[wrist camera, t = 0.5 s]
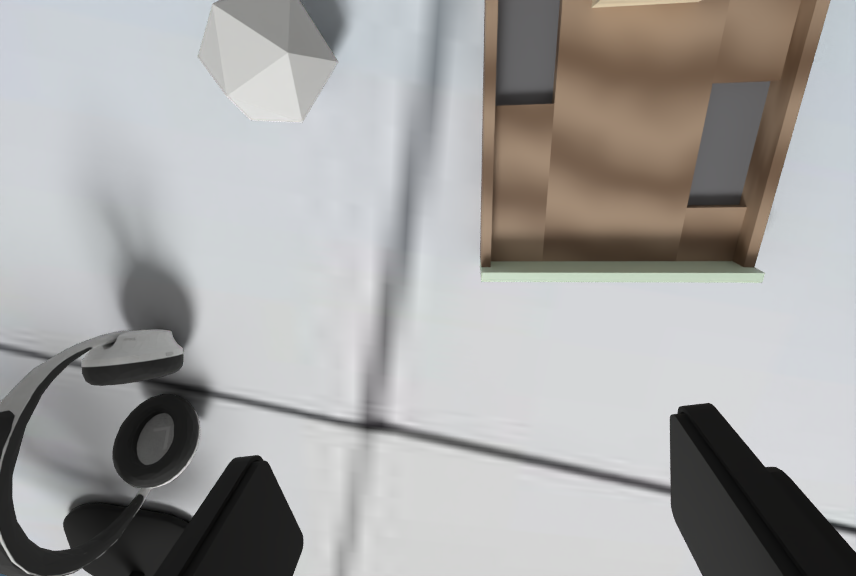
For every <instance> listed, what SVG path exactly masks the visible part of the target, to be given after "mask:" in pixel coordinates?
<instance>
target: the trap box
mask: <svg viewBox="0 0 856 576" xmlns="http://www.w3.org/2000/svg"><path fill="white" fill-rule="evenodd" d="M829 4H830V0H701V1H699V2H688V3H670V4H652V5H634V6H616V7H598V8H592V0H560V6H559V19H558V32H557V46H556V59H555V72H554V85H553V98H552V104H531V105H503V106H495V95H496V59H497V23H498V0H485V16H484V72H483V128H482V185H481V241H480V260H481V267H491V261H733V262H735V263H737V264H738V265H740V266H742V267H754V266H755V263H756V259H757V256H758V252H759V249H760V245H761V242H762V238H763V235H764V231H765V228H766V224H767V221H768V217H769V214H770V210H771V207H772V203H773V200H774V196H775V193H776V189H777V186H778V182H779V179H780V175H781V172H782V168H783V165H784V161H785V158H786V154H787V151H788V147H789V144H790V140H791V137H792V133H793V130H794V126H795V123H796V119H797V116H798V112H799V109H800V105H801V102H802V98H803V95H804V91H805V88H806V84H807V81H808V77H809V74H810V70H811V67H812V63H813V60H814V56H815V53H816V49H817V46H818V42H819V39H820V35H821V32H822V28H823V25H824V21H825V18H826V14H827V11H828V7H829ZM767 81H771V82H770V86H769V90H768V94H767V98H766V102H765V105H764V109H763V113H762V117H761V121H760V125H759V129H758V133H757V137H756V141H755V145H754V149H753V153H752V156H751V160H750V164H749V168H748V172H747V176H746V180H745V184H744V188H743V192H742V196H741V200H740V203H739V205H687V204H688V200H689V195H690V190H691V185H692V180H693V176H694V171H695V166H696V161H697V156H698V151H699V147H700V142H701V137H702V132H703V127H704V122H705V118H706V113H707V108H708V103H709V98H710V94H711V89H712V84H714V83H741V82H767Z"/></svg>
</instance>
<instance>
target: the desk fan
mask: <svg viewBox="0 0 856 576" xmlns="http://www.w3.org/2000/svg"><path fill="white" fill-rule="evenodd" d="M126 508H127V507H122V506H115V505H109V504H100V503H92V504H85V505H81V506H79V507H76V508H75V509H73V510H72V511H71V512H70V513H69V514H68V515H67V516H66V517H65V519H64V522H63V527H64V531H65V534H66V537H67V540H68V543H69V545H70V548H71V549H72V548H74V547H76V546H79V545H81V544H83V543H86V542H88V541H89V540H91V539H92V538H94V537H95V536H96V535H98V534H99V533H101V532H102V531H103V530H105V529H106V528H107V527H108V526H110V525H111V524H112V523H113V522H114V521H115V520H116V519H117V518H118V517H119V516H120V515H121V514H122V513H123V512H124V511H125V509H126ZM188 524H189V523H187V522H186V521H184V520H181V519H179V518H177V517H174V516H171V515H168V514H164V513H159V512H153V511H147V510H140V509H139V510H138V512H137V513H136V514H135V516H134V517H133V519H132V520H131V522H130V523H129V524H128V526H127V527H126V529H125V530H124V532H123V533H122V534H121V536H120V537H119V538H118V540H117V541H116V542H115V543H114V544H113V545H112V546H111V547H110V548H109V549H108V550H107V551H106V552H104V553H103V554H102V555H101V556H100V557H98V558H97V559H95V560H94V561H92V562H91V563H89V564H88V565H86V566H84V567H83V569H84V570H85V571H87V572H88V573H89V574H91V575H93V576H153V575H154V574H155V573H156V571H157V570H158V568H159V567H160V565H161V564H162V562H163V561H164V559H165V558H166V556H167V555H168V553H169V552H170V550H171V549H172V547H173V546H174V544H175V543H176V541H177V540H178V538H179V537H180V536H181V534H182V533H183V531H184V530H185V528H186V527H187V525H188Z"/></svg>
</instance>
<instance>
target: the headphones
mask: <svg viewBox="0 0 856 576" xmlns="http://www.w3.org/2000/svg"><path fill="white" fill-rule="evenodd" d="M89 350H90V351H89ZM87 351H89V353H88V354H87V356H85V357H84V358H83V359H82V364H81V367H82V374H83V376H84V378H85V381H86V382H88V383H89V384H91V385H99V386H104V385H117V384H126V383H132V382H138V381H144V380H150V379H154V378H158V377H163V376H166V375H169V374H172V373H174V372H176V371H178V370H179V369H180V368H181V367H182V365H183V354H184V350H183V348H182V347H181V346H180V345H178V344H177V343H176V341H175V340H174V338H173V335H172V331H169V330H159V329H154V330H130V331H118V332H113V333H108V334H104V335H100V336H98V337H95V338H92V339H89V340H86V341H84V342H81V343H79V344H76V345H74V346H72V347H70V348H68V349H66V350H64V351H62V352H61V353H59V354H57V355H56V356H54V357H52V358H51V359H49V360H47V361H46V362H44V363H42V364H41V365H39V366H37V367H36V368H34V369H33V370H32V371H31V372H30V373H29V374H28V375H27V376H26V377H24V378H23V379H22V380H21V381H20V382H19V383H18V384H17V385H16V386H15V387H14V388H13V389H12V390H11V391H10V393H9V394H8V395H7V396H6V397H5V398H4V399H3V400H2V402H1V403H0V573H1V574H4V575H7V576H65V575H69V574H72V573H75V572H76V571H78V570H80V569H82V568H83V567H84V566H86V565H88V564H89V563H91V562H92V561H94V560H95V559H97V558H98V557H100V556H101V555H102V554H103V553H104V552H106V551H107V550H108V549H109V548H110V547H111V546H112V545H113V544H114V543H115V542H116V541H117V540H118V538H119V537H120V536H121V534H122V533H123V532H124V530H125V529H126V527H127V526H128V524H129V523H130V522H131V520H132V519H133V517H134V516H135V514H136V513H137V512H138V510H139V509H140V507H141V506H142V504H143V502H144V501H145V499H146V497H147V496H148V494H149V492H150V490H151V489H152V488H156V487H160V486H163V485H165V484H167V483H169V482H171V481H172V480H174V479H175V478H176V477H178V476H179V475H180V474H181V473H182V472H183V471H184V470H185V468H186V467H187V466H188V465H189V463H190V462H191V460H192V458H193V456H194V455H195V452H196V450H197V447H198V444H199V439H200V421H199V418H198V414H197V413H196V412H195V410H194V408H193V407H192V405H191V404H190V403H189V402H188V401H186V400H185V399H183V398H181V397H179V396H175V395H171V394H162V395H158V396H155V397H152V398H150V399H148V400H146V401H144V402H143V403H141V404H140V405H139V406H138V407H136V408H135V409H134V410H133V411H132V412H131V413H130V414H129V416H128V417H127V418H126V419H125V421H124V422H123V424H122V425H121V427H120V429H119V431H118V434H117V436H116V438H115V442H114V446H113V462H114V467H115V469H116V471H117V473H118V474H119V476H120V477H121V478H122V479H123V480H124V481H126V482H127V483H128V484H130V485H132V486H133V487H138V488H141V489H140V490H139V492H138V494H137V495H136V497H135V499H134V500H133V501H132V502H131V503H130V505H129V506H128V507H127V508H126V509H125V511H124V512H123V513H122V514H121V515H120V516H119V517H118V518H117V519H116V520H115V521H114V522H113V523H112V524H111V525H110V526H108V527H107V528H106V529H105V530H103V531H102V532H101V533H99V534H98V535H96V536H95V537H94V538H92V539H91V540H89V541H88V542H86V543H83V544H81V545H79V546H76V547H74V548H72V549H67V550H61V551H52V550H48V549H44V548H40V547H39V546H37V545H36V544H35V543H33V542H32V541H31V540H29V539H28V537H27V536H26V534H25V533H24V531H23V530H22V528H21V527H20V525H19V524H18V522H17V519H16V515H15V511H14V505H13V500H12V476H13V471H14V467H15V464H16V460H17V456H18V453H19V449H20V446H21V442H22V439H23V435H24V431H25V428H26V425H27V423H28V421H29V419H30V417H31V415H32V413H33V411H34V409H35V407H36V405H37V403H38V401H39V399H40V397H41V396H42V394H43V393H44V391H45V390H46V389H47V387H48V386H49V385H50V383H51V382H52V381H53V380H54V379H55V378H56V377H57V376H58V375H59V374H60V373H61V372H62V371H63V370H64V369H65V368H66V367H67V366H68V365H69V364H70V363H71V362H72V361H74V360H75V359H77V358H78V357H80V356H81V355H83V354H84V353H86V352H87Z"/></svg>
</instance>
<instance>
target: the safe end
mask: <svg viewBox="0 0 856 576" xmlns="http://www.w3.org/2000/svg"><path fill="white" fill-rule="evenodd" d="M480 271H481V282H698V283H762V281H763V278H764V274H765V273H764V272H762V271H760V270H758V269H756V268H755V267H742V266H740V265H738V264H737V263H735V262H733V261H491V267H481V260H480Z"/></svg>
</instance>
